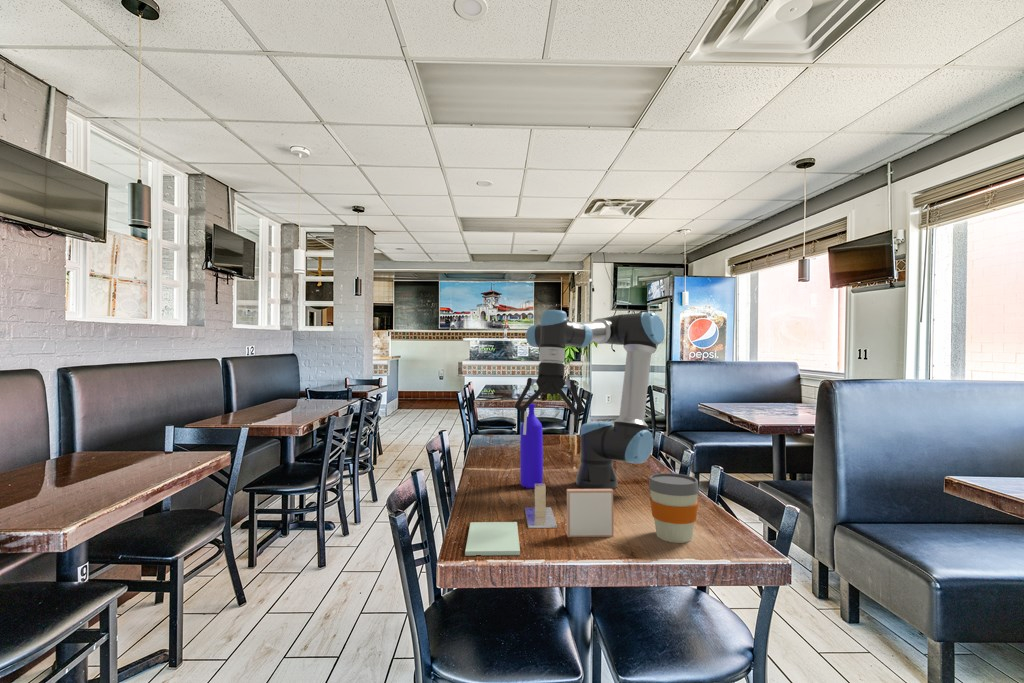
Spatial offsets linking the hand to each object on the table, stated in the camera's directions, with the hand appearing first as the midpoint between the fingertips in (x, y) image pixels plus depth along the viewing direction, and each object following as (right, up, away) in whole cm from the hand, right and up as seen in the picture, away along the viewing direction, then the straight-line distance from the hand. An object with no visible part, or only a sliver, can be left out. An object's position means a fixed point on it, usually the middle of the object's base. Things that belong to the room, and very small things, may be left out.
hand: (547, 435), depth 137 cm
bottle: (-3, -26, +37) cm, 45 cm away
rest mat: (-15, -24, -15) cm, 32 cm away
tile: (+10, -24, -12) cm, 29 cm away
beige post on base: (-2, -25, +1) cm, 25 cm away
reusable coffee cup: (+32, -24, -13) cm, 42 cm away
